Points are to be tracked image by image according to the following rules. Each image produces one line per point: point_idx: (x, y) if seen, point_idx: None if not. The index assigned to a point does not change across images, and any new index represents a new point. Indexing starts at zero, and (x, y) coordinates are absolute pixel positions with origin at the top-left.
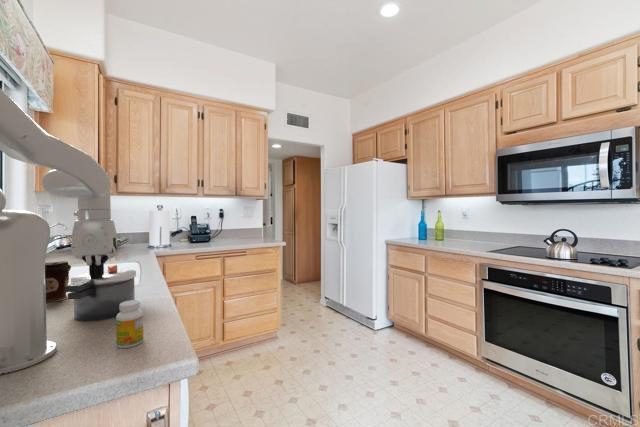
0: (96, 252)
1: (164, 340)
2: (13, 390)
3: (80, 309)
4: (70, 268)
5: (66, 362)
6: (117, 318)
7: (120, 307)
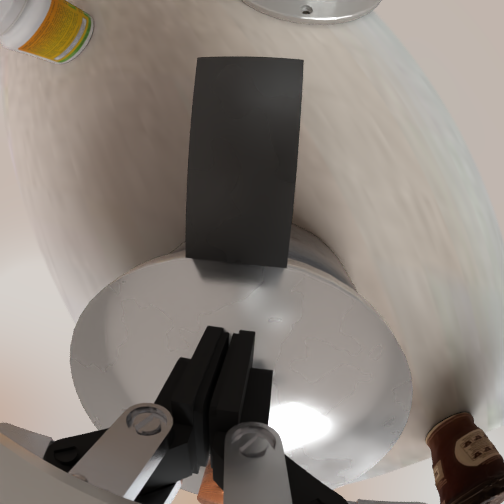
0: (17, 487)
1: (21, 62)
2: None
3: (305, 239)
4: None
5: None
6: None
7: None
